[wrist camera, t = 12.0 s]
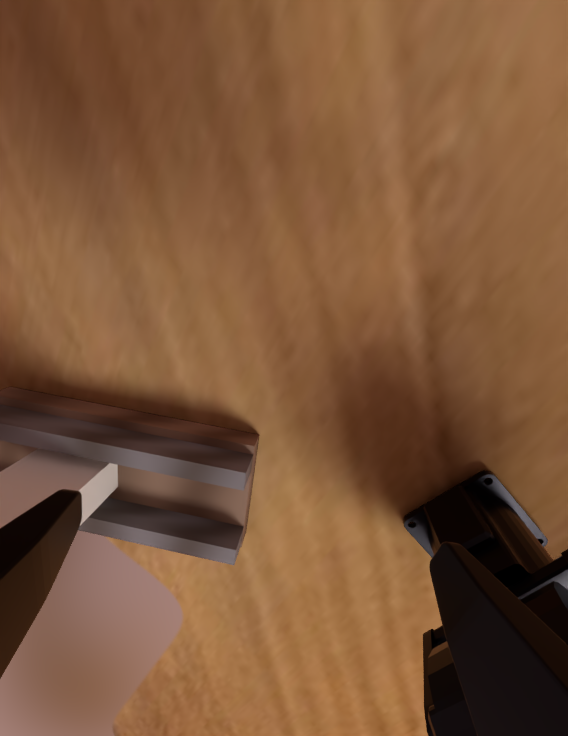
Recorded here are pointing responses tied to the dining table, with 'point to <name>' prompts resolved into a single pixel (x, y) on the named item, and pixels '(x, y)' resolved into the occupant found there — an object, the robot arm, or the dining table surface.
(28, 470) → the door panel
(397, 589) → the dining table surface
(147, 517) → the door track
